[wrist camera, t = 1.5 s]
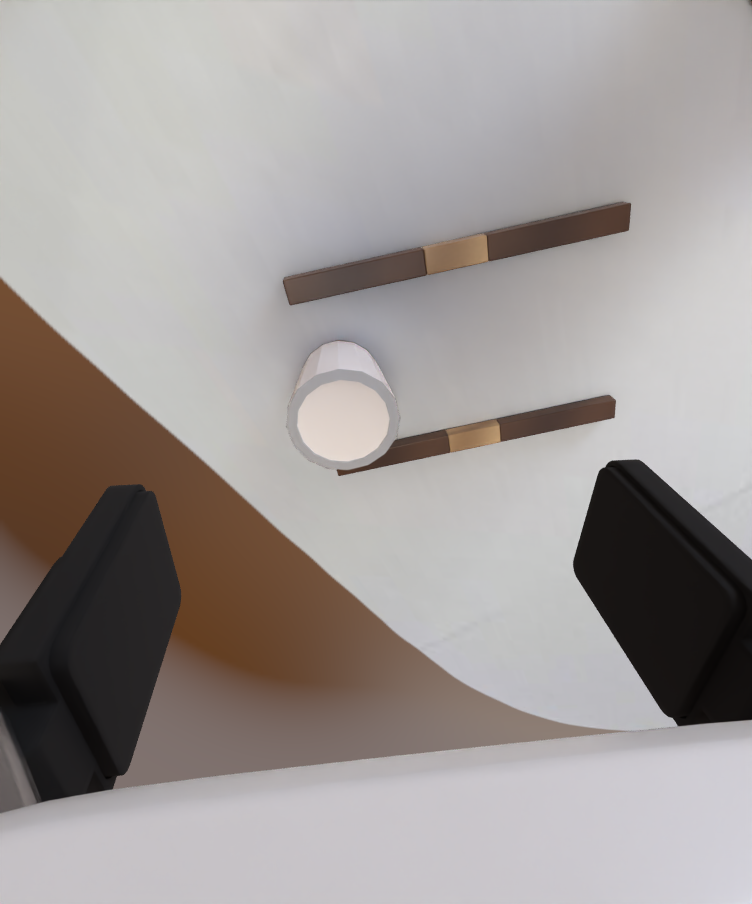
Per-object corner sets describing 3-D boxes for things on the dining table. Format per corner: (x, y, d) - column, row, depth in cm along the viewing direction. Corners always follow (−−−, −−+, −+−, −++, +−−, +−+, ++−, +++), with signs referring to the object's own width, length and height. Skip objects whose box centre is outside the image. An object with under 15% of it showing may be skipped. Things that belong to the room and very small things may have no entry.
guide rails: (623, 201, 30) (631, 202, 30) (608, 412, 38) (614, 418, 38) (283, 277, 31) (282, 280, 30) (338, 469, 39) (338, 476, 38)
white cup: (389, 416, 37) (401, 466, 31) (299, 424, 37) (294, 475, 31) (386, 328, 33) (399, 365, 27) (286, 335, 33) (277, 374, 27)
